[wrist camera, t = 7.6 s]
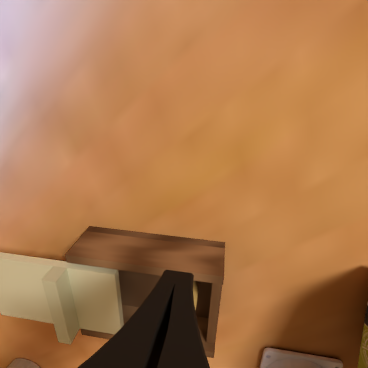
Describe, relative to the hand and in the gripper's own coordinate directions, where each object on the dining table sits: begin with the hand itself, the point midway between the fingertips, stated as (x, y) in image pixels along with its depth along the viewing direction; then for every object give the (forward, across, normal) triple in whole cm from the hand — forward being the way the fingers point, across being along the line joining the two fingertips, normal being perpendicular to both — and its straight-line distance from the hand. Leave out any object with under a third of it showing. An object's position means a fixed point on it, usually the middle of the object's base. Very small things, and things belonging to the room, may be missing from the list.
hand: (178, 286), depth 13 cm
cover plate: (+7, +13, +10) cm, 17 cm away
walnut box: (+10, +4, +10) cm, 15 cm away
